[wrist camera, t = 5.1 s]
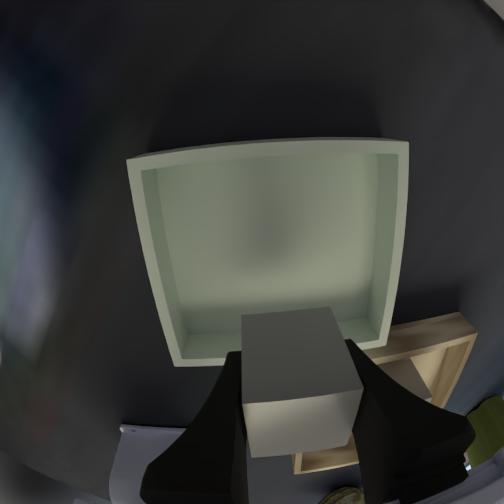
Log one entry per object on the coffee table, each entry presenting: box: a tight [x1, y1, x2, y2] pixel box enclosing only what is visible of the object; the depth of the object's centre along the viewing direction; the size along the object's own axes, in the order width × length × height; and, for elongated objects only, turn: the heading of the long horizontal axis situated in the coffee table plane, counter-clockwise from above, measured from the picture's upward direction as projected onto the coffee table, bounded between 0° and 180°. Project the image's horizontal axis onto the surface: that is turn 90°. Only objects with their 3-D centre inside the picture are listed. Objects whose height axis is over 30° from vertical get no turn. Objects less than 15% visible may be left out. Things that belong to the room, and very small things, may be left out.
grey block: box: [241, 306, 364, 458], centre depth 12 cm, size 4×4×5 cm
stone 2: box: [377, 357, 433, 403], centre depth 19 cm, size 4×4×5 cm
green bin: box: [127, 137, 409, 367], centre depth 16 cm, size 13×12×3 cm
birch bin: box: [291, 312, 478, 474], centre depth 22 cm, size 14×16×3 cm
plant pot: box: [466, 396, 504, 469], centre depth 23 cm, size 12×12×11 cm
